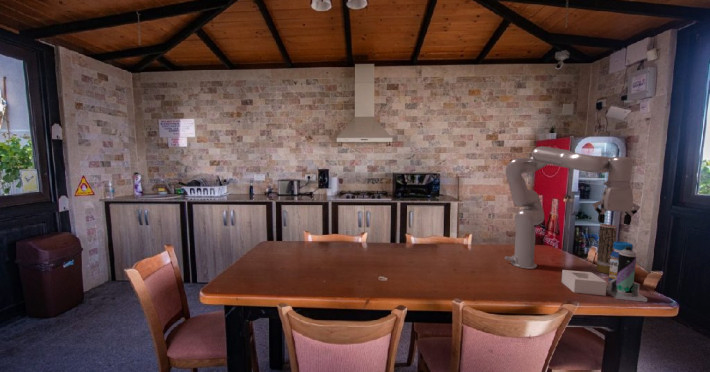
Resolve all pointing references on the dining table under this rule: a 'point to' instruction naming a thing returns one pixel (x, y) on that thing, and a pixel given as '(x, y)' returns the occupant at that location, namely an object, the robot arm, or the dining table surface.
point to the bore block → (584, 282)
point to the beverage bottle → (616, 258)
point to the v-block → (635, 295)
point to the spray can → (626, 271)
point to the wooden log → (605, 247)
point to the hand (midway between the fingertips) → (613, 223)
